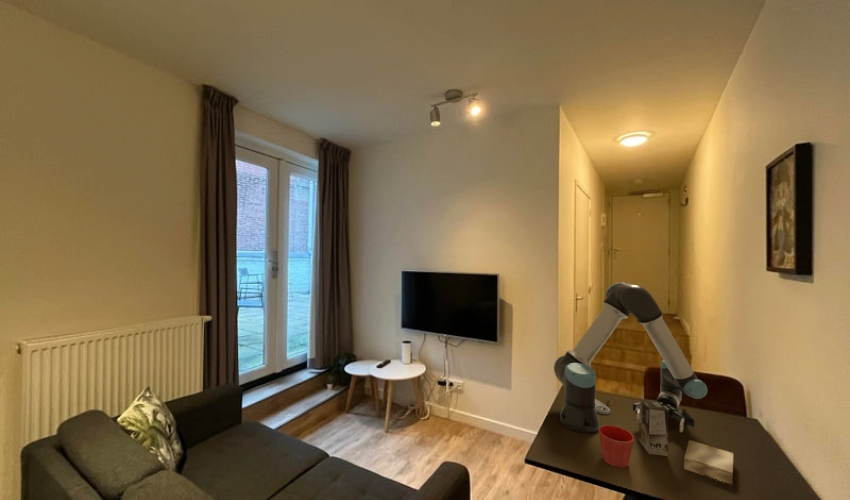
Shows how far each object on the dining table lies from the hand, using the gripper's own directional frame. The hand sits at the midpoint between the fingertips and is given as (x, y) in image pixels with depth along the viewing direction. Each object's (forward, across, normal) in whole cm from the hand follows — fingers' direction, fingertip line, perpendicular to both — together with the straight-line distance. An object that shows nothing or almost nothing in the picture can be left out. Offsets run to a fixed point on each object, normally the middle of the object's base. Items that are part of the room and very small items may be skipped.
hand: (658, 422), depth 132 cm
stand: (+6, -15, -8) cm, 18 cm away
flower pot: (+24, +9, -8) cm, 26 cm away
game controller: (-19, +24, -8) cm, 32 cm away
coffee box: (+6, +1, -8) cm, 10 cm away
